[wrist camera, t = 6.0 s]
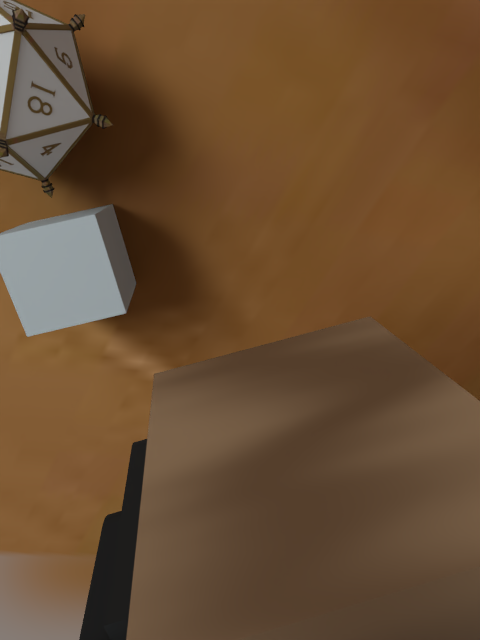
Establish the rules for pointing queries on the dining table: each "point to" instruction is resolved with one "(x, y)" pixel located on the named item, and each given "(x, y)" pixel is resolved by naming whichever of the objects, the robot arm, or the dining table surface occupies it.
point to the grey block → (67, 270)
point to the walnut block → (310, 496)
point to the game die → (40, 92)
